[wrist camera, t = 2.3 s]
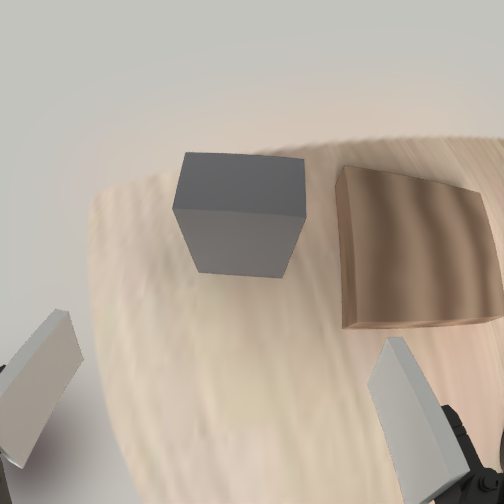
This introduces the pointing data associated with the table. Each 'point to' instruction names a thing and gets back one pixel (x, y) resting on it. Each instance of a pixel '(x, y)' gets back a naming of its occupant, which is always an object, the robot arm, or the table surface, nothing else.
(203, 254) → the tall slate rectangular prism
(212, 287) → the table surface
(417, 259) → the display block
